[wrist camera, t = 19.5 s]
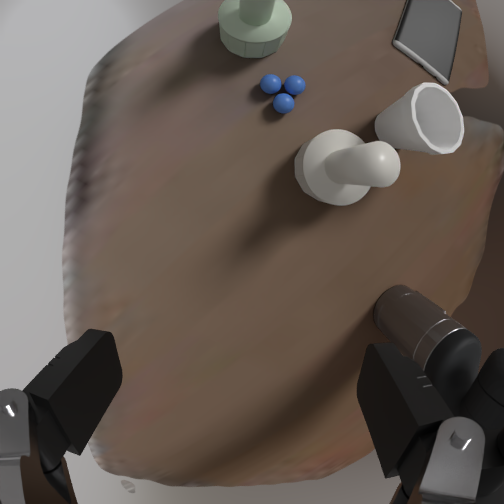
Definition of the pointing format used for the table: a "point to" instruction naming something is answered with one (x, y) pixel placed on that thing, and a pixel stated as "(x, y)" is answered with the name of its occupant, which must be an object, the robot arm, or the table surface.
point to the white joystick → (344, 167)
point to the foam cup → (422, 121)
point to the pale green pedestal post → (253, 26)
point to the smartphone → (430, 35)
